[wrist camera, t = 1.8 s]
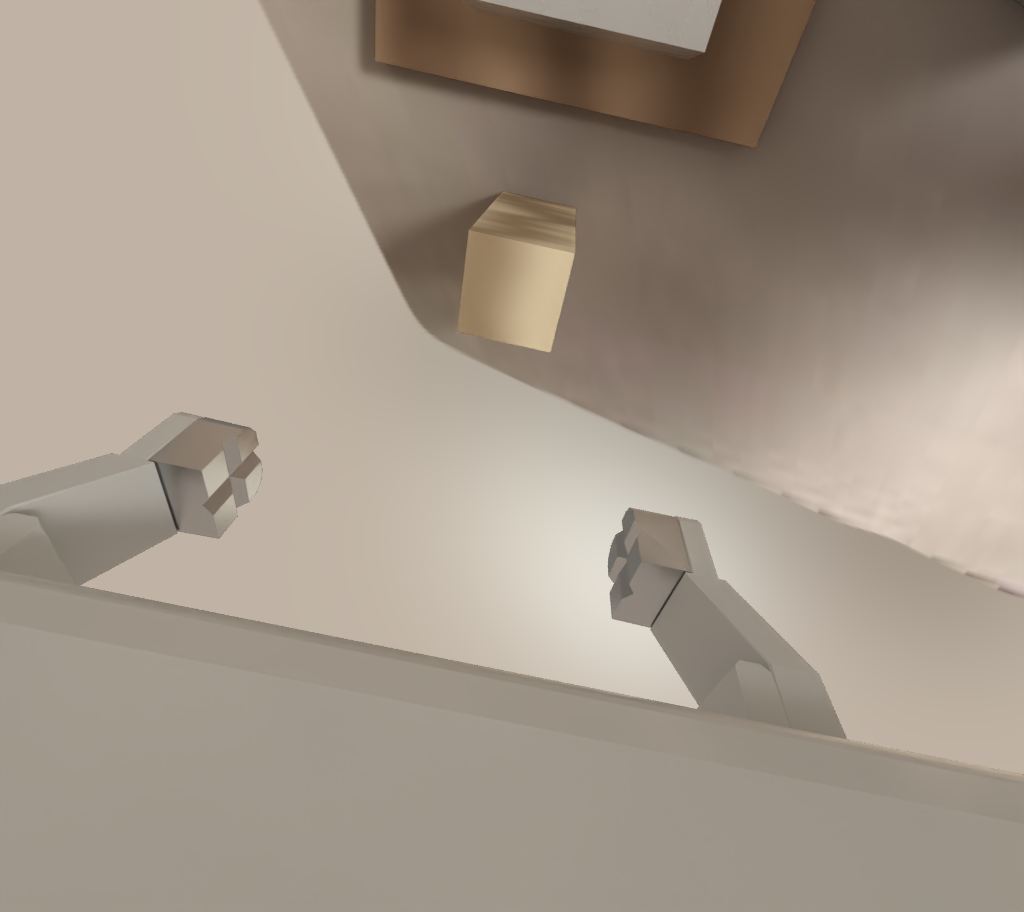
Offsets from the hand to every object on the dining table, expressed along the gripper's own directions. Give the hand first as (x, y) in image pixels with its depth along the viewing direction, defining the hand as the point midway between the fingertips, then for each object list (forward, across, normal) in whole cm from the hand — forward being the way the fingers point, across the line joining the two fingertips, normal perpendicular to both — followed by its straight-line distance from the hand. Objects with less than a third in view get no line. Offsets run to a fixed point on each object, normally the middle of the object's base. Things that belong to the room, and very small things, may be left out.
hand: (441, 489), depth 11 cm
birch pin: (+24, 0, 0) cm, 24 cm away
